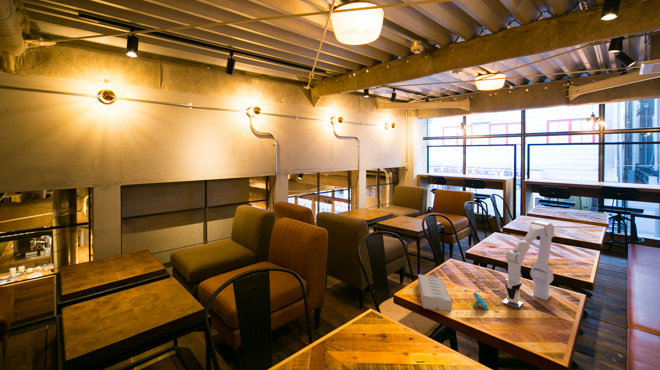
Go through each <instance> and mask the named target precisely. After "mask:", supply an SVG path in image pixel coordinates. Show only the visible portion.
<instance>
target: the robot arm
mask: <svg viewBox="0 0 660 370" xmlns="http://www.w3.org/2000/svg"><path fill="white" fill-rule="evenodd" d="M528 229H529V230H528V232H527V233H526V235H525V237H524V238H523V240H519V241H518V243H517V244H516V245H515V246H514V247H513V249H512V250H509V251H508V252H507V253H506V255H505V258H506V261H507V264H508V265H507V266H508V267H507V278H505V281H506V282H507V284H505V286H504V287H505V289H506V292H507V291H508V296H509V298H510V299H514V296H515V292H516V290H519V291H520V288H521V286H522V285H523V283H522V282H521V271H522V270H521V269H522V268H521V264H523V262H524V259H525V257H526V253H527V252H528V251H529V250H530V248H531V245H530V244H531V243H532V242H533V241H534V240H535V239H536V238H537V237H539V244H538V245H539V246H538V252H537V253H538V254H537V260H536V263H535V264H533V265H531V266H532V268H531V270H530V271H529V272H530V273H529V274H530V277H531V278H532V280H533V288H532V289H533V290H532V293H530V296H531V297H533V298H537V299H541V300H544V301H548V300H549V299H550V297H551V296H552V294H550V284H552V282H553V281H554V270H553V269H552V268H551V267H550V266H549V260H550V253H551V246H552V238H554V235H555V226H554V225H553V223H551V222H550V223H549V222H544V221H538V220H532V221H531V222H530V224H529V228H528Z"/></svg>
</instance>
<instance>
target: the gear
mask: <svg viewBox="0 0 660 370" xmlns="http://www.w3.org/2000/svg"><path fill="white" fill-rule="evenodd" d="M473 296H474V298H475V300H476V301H475V302H474V304H473V305H472V307H474V308H475V307H477V306H478V305H481V306H482V308H483V309H485V310H486V311H488V310H489V305H488V304H487V303H486V302H485V300H483V297H482V296H480V295H479V294H478V293H477V292H474V293H473Z"/></svg>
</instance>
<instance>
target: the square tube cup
mask: <svg viewBox="0 0 660 370" xmlns="http://www.w3.org/2000/svg"><path fill="white" fill-rule="evenodd" d="M506 298H507V301H511V302H514V303H518V302H519V301H520V299H521V290H520V289H519V290H516V292H515V296H514V299H510V298H509V296H508V291H507V290H506Z"/></svg>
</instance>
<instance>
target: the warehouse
mask: <svg viewBox="0 0 660 370" xmlns="http://www.w3.org/2000/svg"><path fill="white" fill-rule="evenodd" d="M417 285H418V289H419V290H418V291H419V295H420V299H421V303H422V307H423V308H422V309H429V310H438V311H440V310H441V311H450V312H452V308H453V307H452V306H453V302H452V299H451V296H450V294H449V291H448V290H447V287H446V285H445V283H444V280H443V278H442V277H441V278H440V277H435V276H431V275H426V274H419V273H418V274H417Z"/></svg>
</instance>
